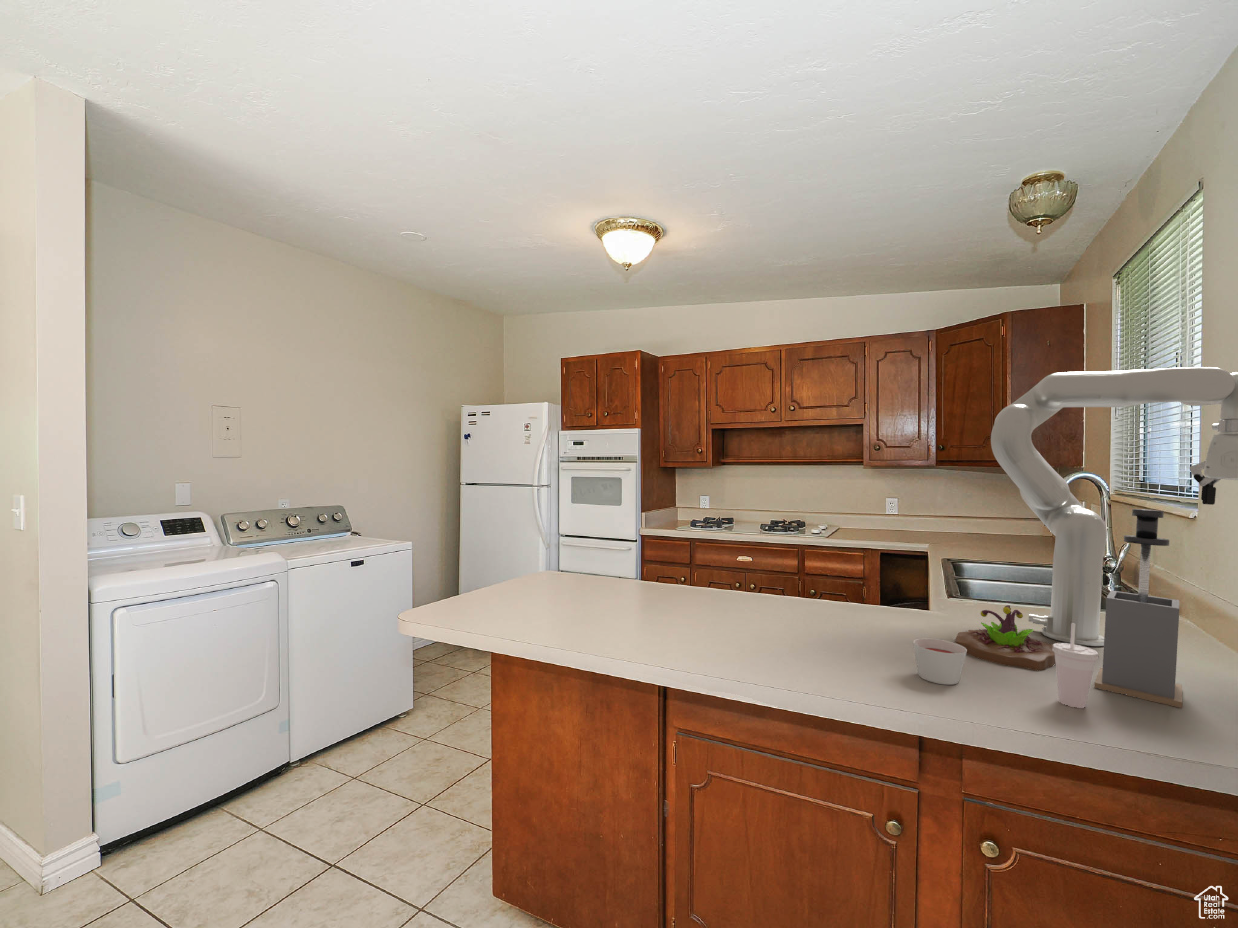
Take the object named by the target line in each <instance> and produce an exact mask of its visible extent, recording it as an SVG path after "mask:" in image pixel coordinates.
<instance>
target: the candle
mask: <svg viewBox="0 0 1238 928" xmlns="http://www.w3.org/2000/svg"><path fill="white" fill-rule="evenodd" d="M913 649H914V656H915V657H914V658H915V661H916V670H917V674H918V676H919V677H920V678H921V679H923V680H925V681H927V682H930V683H934V684H939V685H949V686H950V685H951V686H952V685H956V684H958V683H959V682H960V679H961V676H962V671H963V669H964V668H963V667H964V664H965V661H966V657H967V654H966V653H967V649H966V648H965V647H963V646H961V645H959V644H956V643H955V642H952V641H949V640H943V639H938V638H931V637H930V638H928V637H925V638H923V637H922V638H916V639H913Z"/></svg>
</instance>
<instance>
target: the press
mask: <svg viewBox="0 0 1238 928" xmlns="http://www.w3.org/2000/svg"><path fill="white" fill-rule="evenodd" d="M1105 600H1106V601H1105V615H1104V616H1105V621H1104V635H1103V637H1104V646H1103V652H1102V653H1103V657H1102V667H1100V668H1099V671H1098V673H1097V675H1096V679H1095V681H1094V684H1093V686H1094V687H1093V689H1097V688H1100V689H1099V690H1103V691H1106V690H1108V691H1107V692H1110V691H1113V692H1112V693H1114V694H1115V693H1116V694H1119V693H1121V694H1120V695H1123V694H1127V695H1126V696H1128V697H1132V696H1134V697H1133V698H1136V697H1139V698H1138V699H1142V700H1146V701H1150V702H1154V703H1159V704H1163V705H1167V706H1172V707H1175V708H1179V709H1182V708H1183V686H1182V685H1183V684H1181V683H1176V676H1177V659H1178V640H1179V625H1180V624H1179V623H1180V621H1179V620H1180V599H1173V598H1167V597H1161V596H1154V595H1153V596H1152V595H1148V603H1144V602H1138V593H1131V592H1126V591H1125V592H1124V591H1118V590H1110V591H1109V593H1108V594H1107V596H1106V599H1105Z"/></svg>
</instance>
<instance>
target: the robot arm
mask: <svg viewBox="0 0 1238 928" xmlns="http://www.w3.org/2000/svg"><path fill="white" fill-rule="evenodd" d="M1156 403H1157V404H1158V403H1181V404H1182V405H1185V406H1191V407H1192V406H1193V407H1201V406H1214V405H1220V415H1219V416H1220V417H1219V420H1218V423H1213V424H1212V425H1211V429H1212V430H1213V431H1215V430H1216V431H1217V433H1218V434H1213V436H1212V437H1211V440H1210V443H1209V446H1208V449H1207V453H1206V458H1205V460H1204V461H1203V462H1199V463H1197V464H1194V465H1191V466H1190V467H1189V471H1190V472H1191V474H1192V476H1193V479H1194V480H1195V481H1196V482H1197V483H1198V484H1199V486H1200V487H1201V497H1200V499H1201V501H1202V505H1209V506H1210V505H1215V503H1216V493H1217V487H1216V486H1215V484H1217V483H1218V482H1220V480H1229V481H1230V480H1231V481H1232V480H1233V481H1238V372H1237V371H1235V372H1232V373H1230V371H1227V370H1226V369H1222V368H1219V367H1211V366H1208V367H1207V366H1205V367H1204V366H1202V367H1201V366H1199V367H1197V366H1195V367H1172V368H1171V367H1169V368H1153V369H1152V368H1151V369H1130V370H1129V369H1128V370H1106V371H1099V370H1098V371H1067V372H1066V371H1064V372H1063V371H1062V372H1054V373H1051V374H1048V375H1046V376H1045V377H1044V378H1042V379H1041V380H1040V381H1039V382H1038V383H1037V384H1035V385H1034V386H1033V387H1032V388H1031V389H1029V390H1028V391H1027V392H1025V393H1024V394H1023V395H1022V396H1020V397H1018V399H1016V400H1015V401H1013V402H1012V403H1011V404H1009V405H1007V406H1005V407H1004V408H1002V409H1001V411H1000V412H999V413H998V414H997V415H996V417H995V420H994V423H993V426H992V430H991V434H990V446H991V447H990V448H991V450H992V454H993V456H994V458H995V460H996V461H997V463H998V464H999V466H1000V467H1001V468H1002V469H1003V470H1004V472H1005V473H1006V475H1008V477H1009V478H1010V480H1011V481H1012V482H1013V483H1014V485H1016V487H1017V488H1018V489H1019V494H1020V497H1021V499H1022V500H1023V501H1024V503H1025V504H1026V505H1027V507H1029V509H1031V511H1032V512H1033V513H1034V515H1035V516H1037V518H1038V519H1039V520H1040V521H1041V522H1042V524H1043V525H1044V526H1045V527H1046V528H1047V529H1048V531H1050V533H1051V534H1052V535H1054V537H1055V539H1054V541H1055V543H1054V547H1053V548H1054V549H1053V556H1052V575H1051V577H1052V579H1051V597H1050V613H1049V614H1048V615H1044V616H1043V615H1042V616H1041V615H1038V614H1033V613H1029V614H1028V622H1031V623H1032V624H1035V625H1041V626H1042V625H1043V626H1044V627H1042V628H1041V634H1042V635H1044V636H1045V637H1048V638H1049V639H1053V640H1056V641H1059V642H1062V643H1068V644H1070V640H1071V623H1074V624H1075V641H1074V644H1075V645H1080V646H1085V647H1087V646H1088V647H1104V635H1101V634H1100V622H1101V621H1100V619H1101V605H1102V604H1101V602H1102V584H1103V565H1104V555H1105V549H1106V543H1107V538H1108V536H1107V534H1108V531H1107V527H1106V524H1105V521H1104V520H1103V517H1101V516H1100V515H1099V514H1098V513H1096V512H1095V511H1093V510H1091V509H1088V508H1085V507H1084V506H1083V504H1081V502H1080V501H1079V500H1078V499H1077V498H1076V496H1074V494H1073V493H1072V492H1071V491H1070V487H1069V484H1068V483H1067V481H1066V480H1065V479H1064V478H1063V476H1061V475H1060V474H1059V473H1058V472H1057V471H1056V470H1055V469H1054V468H1053V467H1052V465H1050V464H1049V462H1047V460H1046V459H1045V458H1044V457H1043V456H1042V455H1041V453H1040V452H1039V450H1037V448H1036V447H1035V446H1034V444H1033V441H1032V433H1033V431H1034V430H1035V429H1036V428H1037V427H1039V426H1040V425H1042V424H1043V423H1044V422H1046V421H1047V420H1049V419H1050V418H1051V417H1053V416H1054V415H1055V414H1056V413H1058V412H1059V411H1061V410H1062V409H1063V408H1125V407H1126V408H1127V407H1135V406H1140V405H1144V404H1156ZM1203 470H1204V471H1203ZM1202 471H1203V473H1202Z"/></svg>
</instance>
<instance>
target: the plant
mask: <svg viewBox="0 0 1238 928" xmlns="http://www.w3.org/2000/svg"><path fill="white" fill-rule="evenodd" d="M1002 611H1003V613H1004V614H1005V618H1003V617H1002V616H1001V615H999V614H998V613H997V612H995V611H993V610H990V609H988V610H987V609H984V610H981V611H980V616H982V617H984V618H985V617H987V616H988V614H990V615H993V616H994V617H995V618H997V620H999V622H1000V623H999V625H998V624H997V623H995V622H993V621H991V623H990V624H991V625H989V624H987V623H985V622H980V624H981V625H982V626H983V627H984V628H983V629H968V630H967V631H960V632H959V631H958V633H957V634H956V637H955V640H954V641H955V642H954V643H956V644H959V645H961V646H963V647H965V648H966V649H967V653H966V655H969V656H971V657H974V658H977V659H979V660H983V661H987V662H991V663H995V664H999V665H1003V666H1008V665H1009V666H1008V667H1017V668H1023V669H1028V668H1029V670H1034V671H1037V670H1038V671H1039V670H1040V671H1045V670H1046V669H1048V668H1052V667H1054V666H1055V665H1056V664H1055V653H1054V651H1052V649H1053V644H1051V643H1049V642H1045V641H1042V640H1037V639H1034V638H1031V637H1030V636H1029V635H1030V633H1033V632H1034V629H1033V628H1031V629H1030V628H1026V629H1024V630H1023V629H1022V630H1020V631H1019V632H1018V626H1017V624H1015V618H1017V619H1022V618H1023V617H1024V615H1023V613H1022V612H1021V611H1020V610H1018V609H1014V610H1013V611H1012V608H1011V605H1009V604H1007V605H1005V606H1004V607H1003V608H1002ZM1054 664H1055V665H1054ZM1053 665H1054V666H1053Z"/></svg>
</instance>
